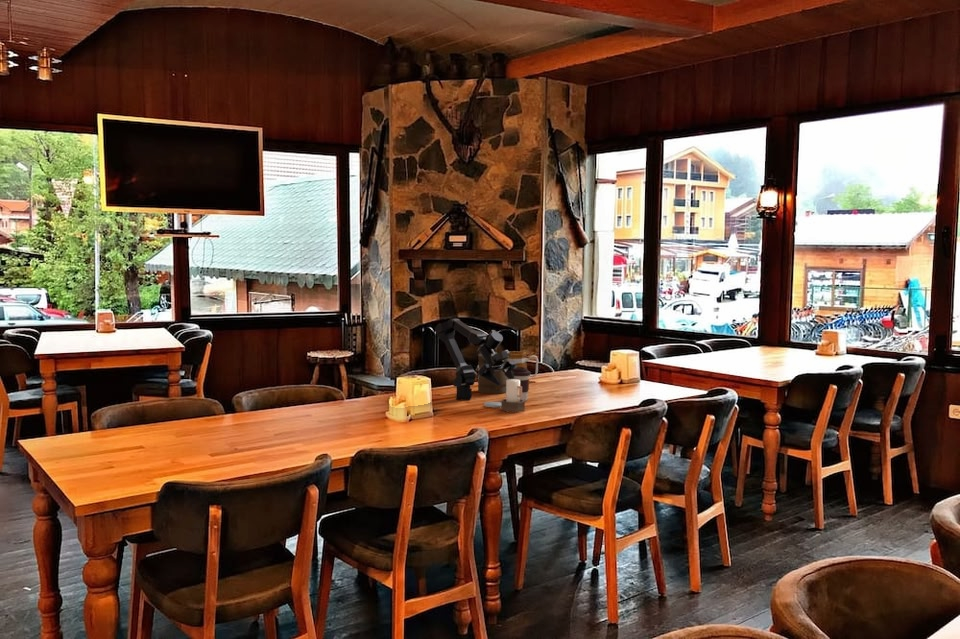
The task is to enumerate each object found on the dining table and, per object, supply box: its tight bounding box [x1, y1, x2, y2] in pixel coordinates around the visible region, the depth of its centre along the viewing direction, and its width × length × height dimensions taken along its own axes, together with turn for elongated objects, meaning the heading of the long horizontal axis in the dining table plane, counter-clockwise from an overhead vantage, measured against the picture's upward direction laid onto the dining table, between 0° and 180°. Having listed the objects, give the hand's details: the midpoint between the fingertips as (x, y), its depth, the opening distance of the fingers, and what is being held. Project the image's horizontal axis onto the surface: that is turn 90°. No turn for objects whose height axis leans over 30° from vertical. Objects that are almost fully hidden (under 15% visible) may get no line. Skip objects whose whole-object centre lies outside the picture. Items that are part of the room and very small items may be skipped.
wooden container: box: [477, 347, 508, 395], centre depth 375 cm, size 15×15×22 cm
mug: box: [508, 350, 539, 379], centre depth 406 cm, size 20×14×15 cm
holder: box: [500, 398, 526, 413], centre depth 331 cm, size 10×10×4 cm
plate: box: [483, 401, 501, 409], centre depth 339 cm, size 10×10×1 cm
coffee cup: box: [513, 367, 531, 401], centre depth 352 cm, size 10×10×15 cm
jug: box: [505, 379, 522, 403], centre depth 330 cm, size 8×6×13 cm
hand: (506, 383), depth 333 cm, fingers open, 9 cm apart
